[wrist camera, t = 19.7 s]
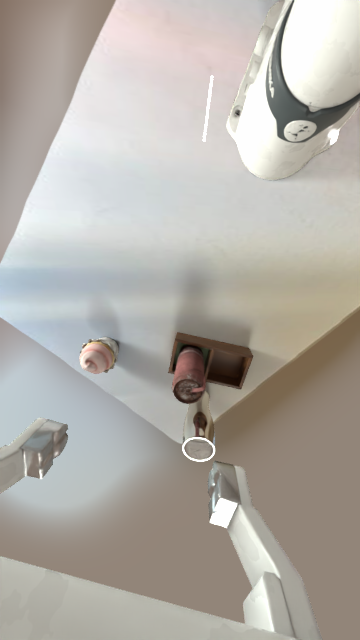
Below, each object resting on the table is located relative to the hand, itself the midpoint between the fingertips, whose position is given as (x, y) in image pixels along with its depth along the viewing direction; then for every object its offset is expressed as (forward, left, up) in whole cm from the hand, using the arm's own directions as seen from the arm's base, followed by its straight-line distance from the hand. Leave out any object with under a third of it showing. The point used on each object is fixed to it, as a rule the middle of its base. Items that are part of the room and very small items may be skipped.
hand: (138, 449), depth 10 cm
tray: (+12, +8, -35) cm, 38 cm away
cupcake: (+16, -18, -35) cm, 43 cm away
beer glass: (+25, +9, -35) cm, 44 cm away
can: (+12, +4, -34) cm, 37 cm away
